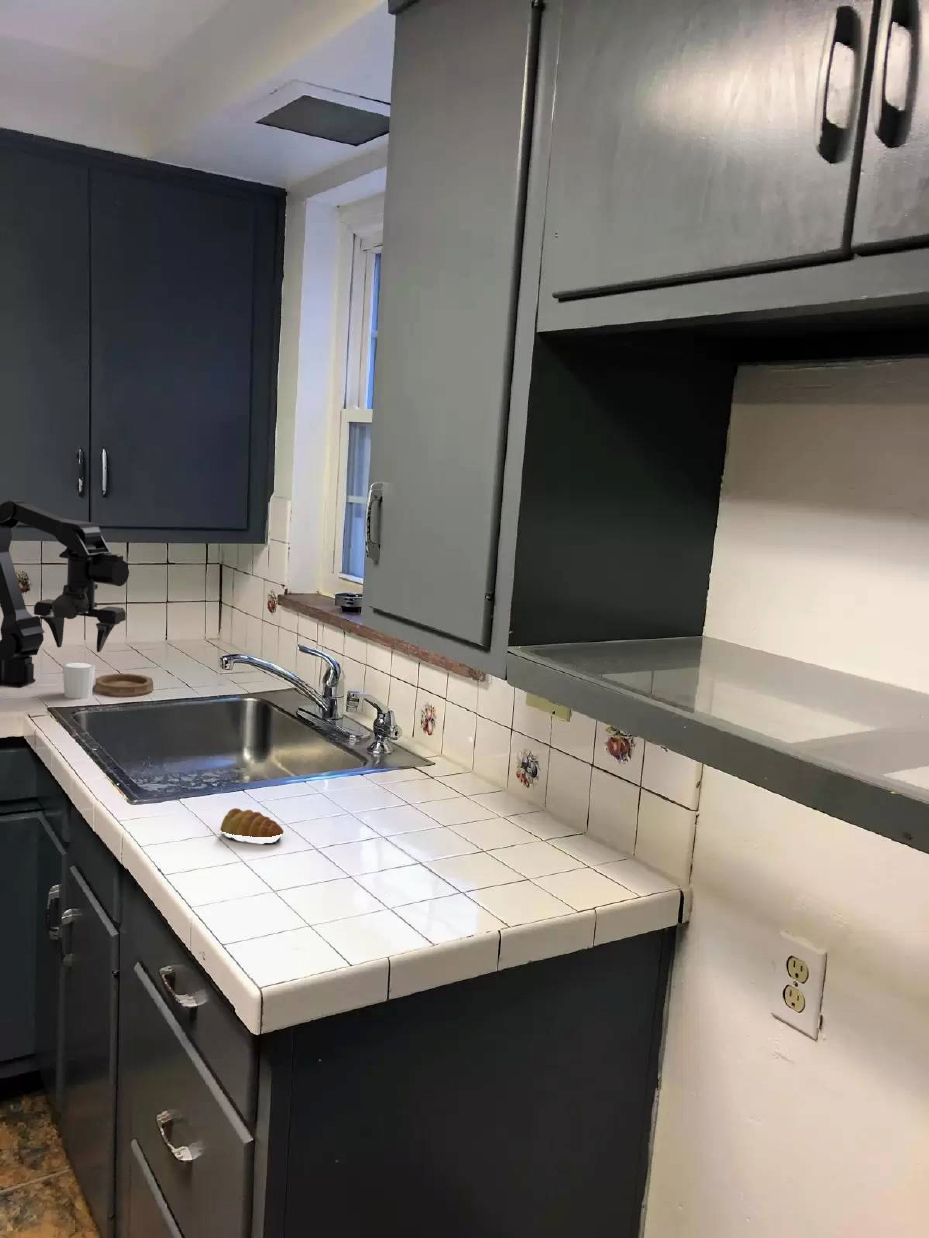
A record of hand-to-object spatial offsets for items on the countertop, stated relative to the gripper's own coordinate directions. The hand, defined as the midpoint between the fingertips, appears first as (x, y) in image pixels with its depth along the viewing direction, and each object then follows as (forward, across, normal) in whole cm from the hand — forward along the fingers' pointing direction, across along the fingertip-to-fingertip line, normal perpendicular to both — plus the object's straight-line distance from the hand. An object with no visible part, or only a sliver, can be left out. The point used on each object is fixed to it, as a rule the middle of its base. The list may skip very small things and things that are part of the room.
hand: (79, 649), depth 217 cm
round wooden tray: (+10, +7, +9) cm, 15 cm away
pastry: (+10, +61, -62) cm, 88 cm away
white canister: (+11, 0, 0) cm, 11 cm away
